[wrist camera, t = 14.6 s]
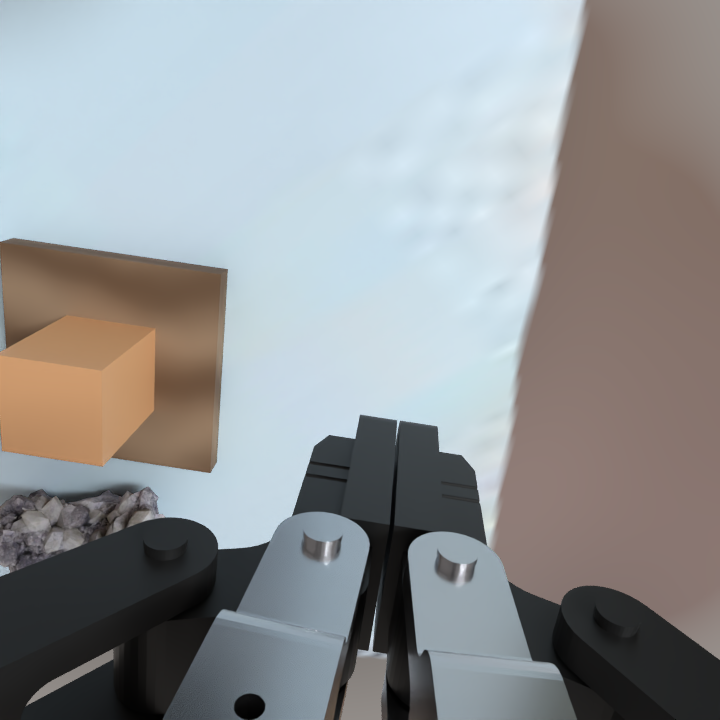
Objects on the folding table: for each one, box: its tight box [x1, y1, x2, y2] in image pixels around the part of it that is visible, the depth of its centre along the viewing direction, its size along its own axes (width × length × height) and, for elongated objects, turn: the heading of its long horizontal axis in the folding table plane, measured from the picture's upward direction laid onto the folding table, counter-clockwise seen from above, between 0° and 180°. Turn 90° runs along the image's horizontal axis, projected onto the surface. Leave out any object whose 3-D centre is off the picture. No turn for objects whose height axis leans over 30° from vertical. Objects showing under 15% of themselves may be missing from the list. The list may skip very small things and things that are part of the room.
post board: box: [0, 238, 228, 473], centre depth 41 cm, size 14×14×8 cm
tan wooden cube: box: [0, 315, 156, 467], centre depth 39 cm, size 6×6×8 cm
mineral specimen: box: [0, 487, 166, 573], centre depth 46 cm, size 12×9×10 cm
